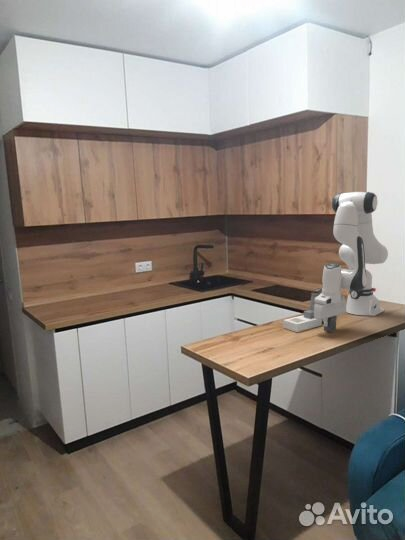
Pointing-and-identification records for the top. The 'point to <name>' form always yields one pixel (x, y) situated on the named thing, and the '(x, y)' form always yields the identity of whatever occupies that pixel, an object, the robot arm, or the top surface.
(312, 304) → the coffee box
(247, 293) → the top surface
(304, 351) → the top surface
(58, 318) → the top surface
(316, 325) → the white slotted base
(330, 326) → the black plug
